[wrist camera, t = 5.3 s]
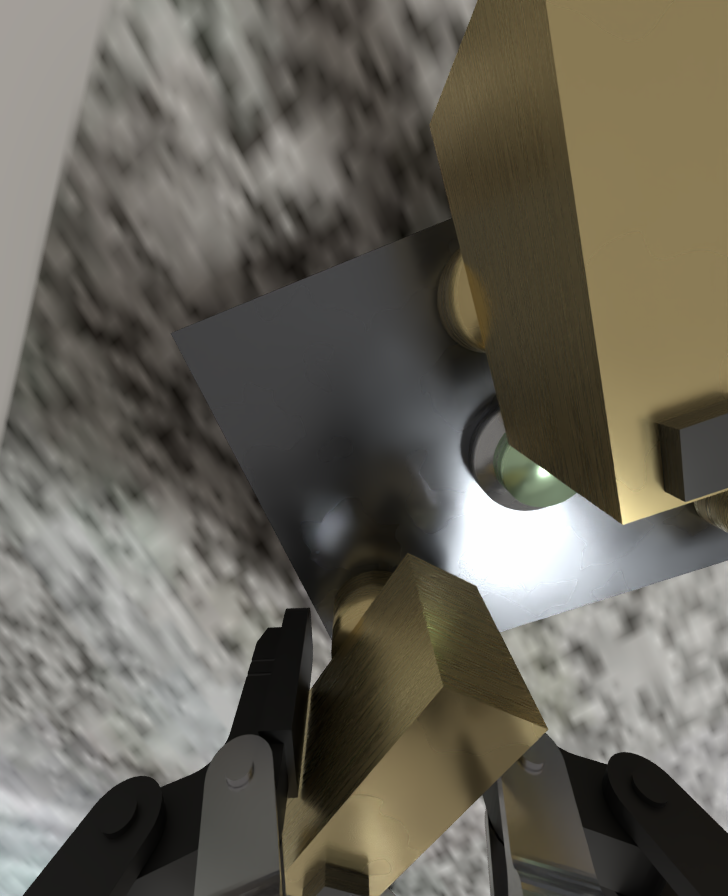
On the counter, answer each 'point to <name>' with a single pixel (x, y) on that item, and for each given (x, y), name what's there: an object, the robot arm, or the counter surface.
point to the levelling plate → (410, 447)
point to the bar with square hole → (595, 238)
